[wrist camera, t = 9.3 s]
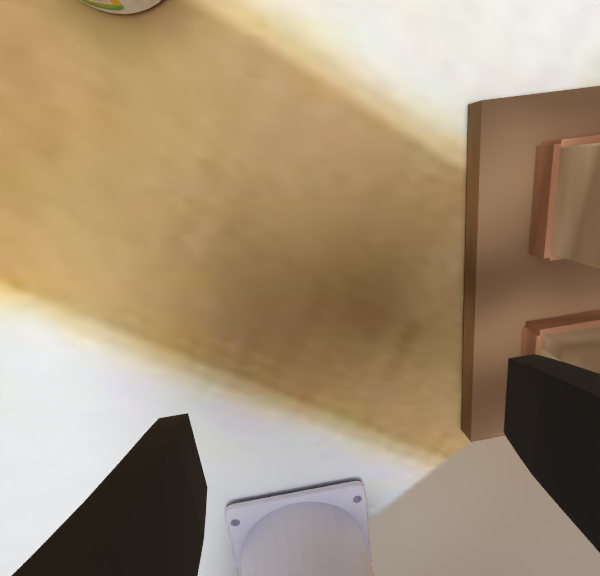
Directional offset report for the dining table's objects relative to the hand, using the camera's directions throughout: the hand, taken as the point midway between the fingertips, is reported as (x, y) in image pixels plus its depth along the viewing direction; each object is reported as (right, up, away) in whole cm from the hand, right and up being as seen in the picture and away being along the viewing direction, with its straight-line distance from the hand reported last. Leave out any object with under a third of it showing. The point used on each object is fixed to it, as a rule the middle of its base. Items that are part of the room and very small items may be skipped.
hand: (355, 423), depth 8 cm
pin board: (+12, +4, +11) cm, 16 cm away
